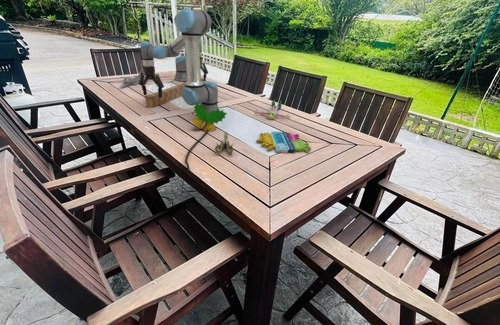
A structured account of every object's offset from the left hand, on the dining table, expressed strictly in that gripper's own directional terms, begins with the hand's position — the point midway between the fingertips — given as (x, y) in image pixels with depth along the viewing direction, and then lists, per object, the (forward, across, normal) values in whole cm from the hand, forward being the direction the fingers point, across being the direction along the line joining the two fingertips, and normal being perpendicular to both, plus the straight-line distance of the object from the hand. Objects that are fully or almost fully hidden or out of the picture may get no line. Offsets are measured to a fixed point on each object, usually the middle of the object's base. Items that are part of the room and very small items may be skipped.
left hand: (198, 79), depth 250 cm
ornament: (+4, -59, +88) cm, 106 cm away
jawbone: (+3, -81, +112) cm, 138 cm away
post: (+6, -1, +34) cm, 35 cm away
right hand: (-2, -1, +68) cm, 68 cm away
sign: (+3, -106, +87) cm, 137 cm away
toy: (+5, -87, +39) cm, 96 cm away
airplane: (+8, +56, +23) cm, 62 cm away
